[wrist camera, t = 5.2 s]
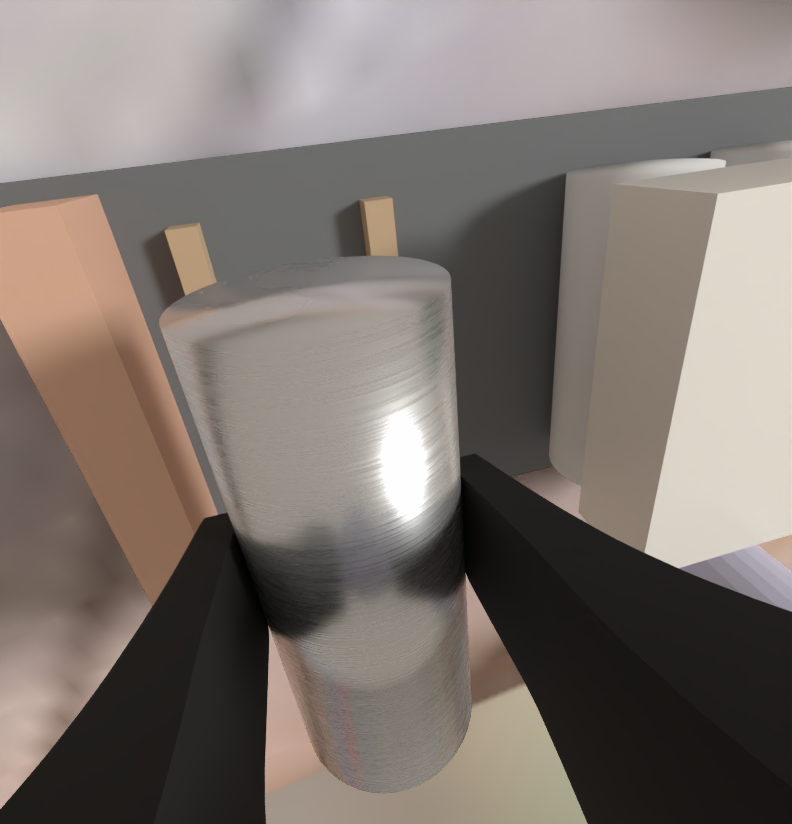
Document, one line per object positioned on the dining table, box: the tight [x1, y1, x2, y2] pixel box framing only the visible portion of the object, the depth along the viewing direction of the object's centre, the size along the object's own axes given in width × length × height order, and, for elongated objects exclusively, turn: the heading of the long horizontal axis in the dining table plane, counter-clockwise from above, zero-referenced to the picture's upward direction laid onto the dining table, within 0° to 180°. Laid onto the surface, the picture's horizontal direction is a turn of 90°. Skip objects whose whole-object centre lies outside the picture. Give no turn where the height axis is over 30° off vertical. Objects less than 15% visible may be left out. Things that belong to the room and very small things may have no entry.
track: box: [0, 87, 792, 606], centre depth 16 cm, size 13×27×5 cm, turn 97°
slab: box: [579, 157, 792, 568], centre depth 13 cm, size 10×10×3 cm
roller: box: [159, 256, 472, 793], centre depth 9 cm, size 10×4×4 cm, turn 6°
